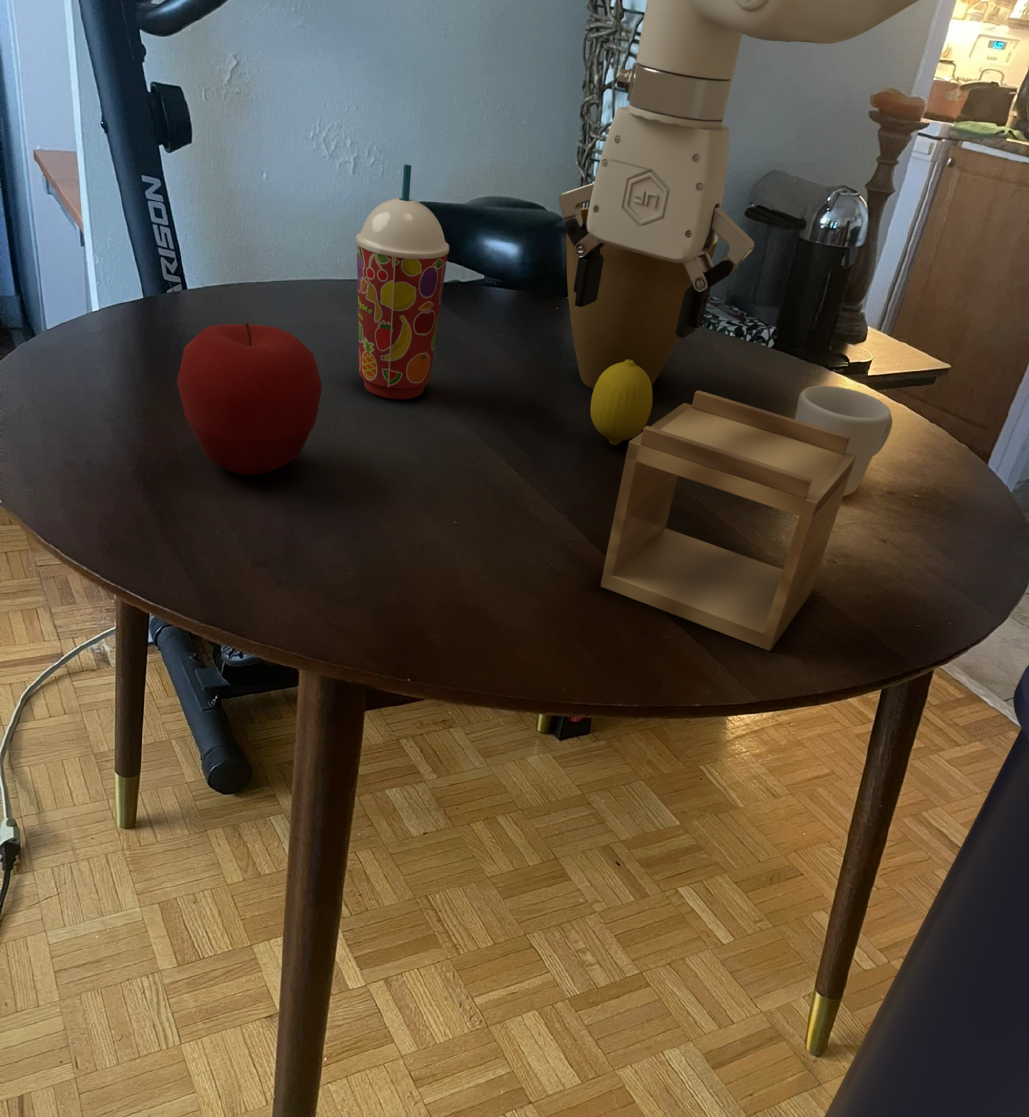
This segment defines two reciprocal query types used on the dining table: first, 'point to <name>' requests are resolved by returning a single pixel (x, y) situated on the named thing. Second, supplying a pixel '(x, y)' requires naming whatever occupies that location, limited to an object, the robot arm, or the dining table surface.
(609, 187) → the robot arm
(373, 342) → the smoothie
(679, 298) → the plant pot
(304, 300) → the dining table surface
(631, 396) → the lemon
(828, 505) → the shelf
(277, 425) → the apple
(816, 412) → the cup
